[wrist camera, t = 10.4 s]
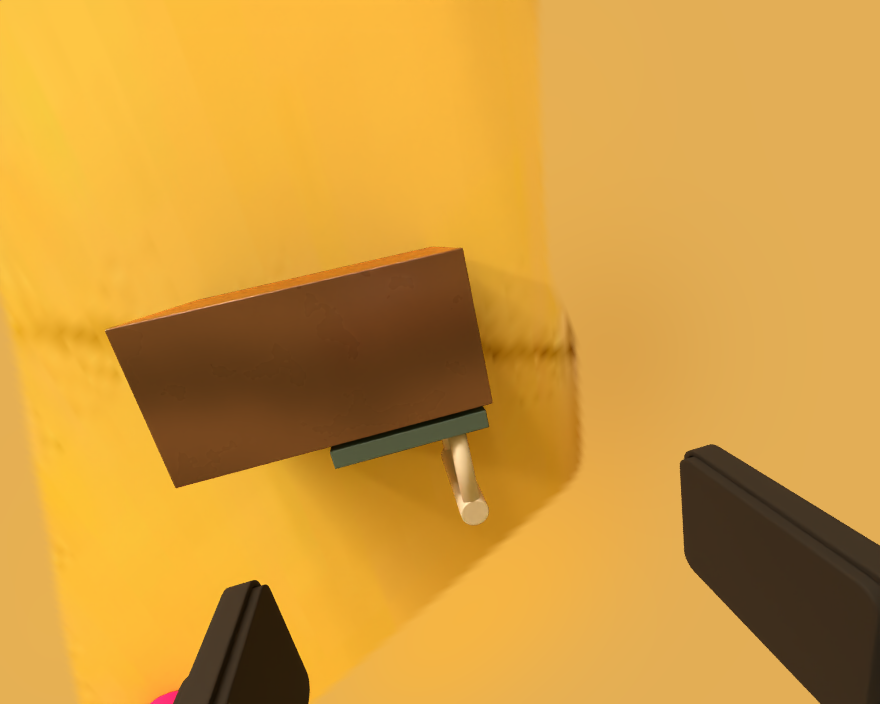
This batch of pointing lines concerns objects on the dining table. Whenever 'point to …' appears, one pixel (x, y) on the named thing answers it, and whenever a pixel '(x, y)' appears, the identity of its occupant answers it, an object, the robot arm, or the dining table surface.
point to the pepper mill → (166, 698)
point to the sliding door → (453, 454)
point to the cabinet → (305, 362)
